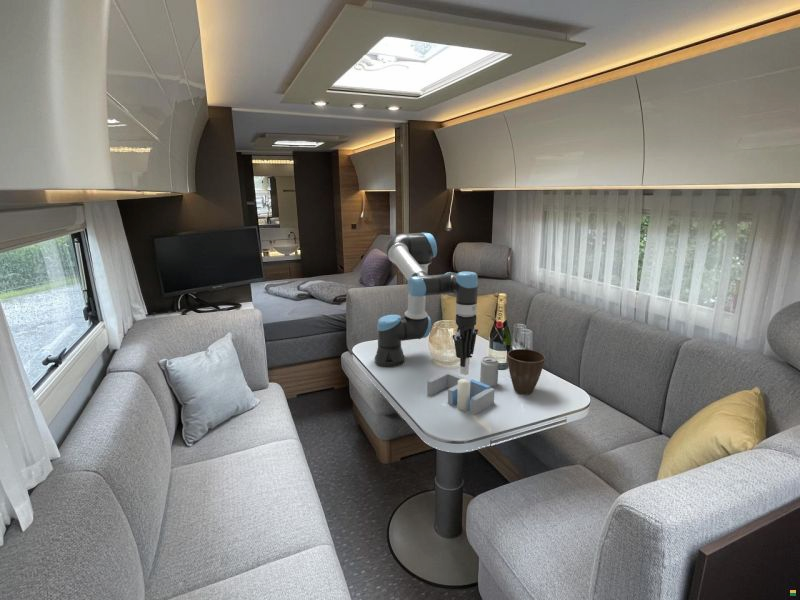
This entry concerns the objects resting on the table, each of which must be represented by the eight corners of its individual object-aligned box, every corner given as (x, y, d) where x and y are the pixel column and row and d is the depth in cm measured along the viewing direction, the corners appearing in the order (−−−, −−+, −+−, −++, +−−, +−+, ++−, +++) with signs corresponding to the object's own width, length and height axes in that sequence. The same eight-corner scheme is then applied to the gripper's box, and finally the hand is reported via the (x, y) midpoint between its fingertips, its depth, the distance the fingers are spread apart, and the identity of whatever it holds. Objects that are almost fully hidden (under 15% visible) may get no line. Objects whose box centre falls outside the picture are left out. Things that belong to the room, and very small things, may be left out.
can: (477, 385, 173) (478, 360, 170) (482, 379, 180) (483, 354, 177) (494, 389, 170) (496, 363, 167) (499, 382, 176) (500, 357, 173)
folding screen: (427, 394, 166) (427, 379, 164) (447, 384, 175) (447, 370, 173) (474, 414, 149) (475, 398, 148) (494, 402, 158) (494, 387, 157)
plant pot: (514, 379, 178) (516, 346, 175) (547, 389, 169) (550, 354, 165) (499, 391, 167) (501, 356, 164) (534, 402, 158) (536, 365, 154)
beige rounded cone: (454, 407, 155) (455, 381, 152) (462, 403, 158) (462, 377, 156) (464, 411, 152) (465, 385, 149) (472, 407, 155) (472, 381, 152)
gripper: (463, 319, 139) (461, 381, 144) (484, 312, 148) (482, 371, 153) (446, 315, 144) (445, 375, 150) (468, 308, 153) (466, 365, 159)
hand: (464, 373), depth 151 cm, fingers closed
